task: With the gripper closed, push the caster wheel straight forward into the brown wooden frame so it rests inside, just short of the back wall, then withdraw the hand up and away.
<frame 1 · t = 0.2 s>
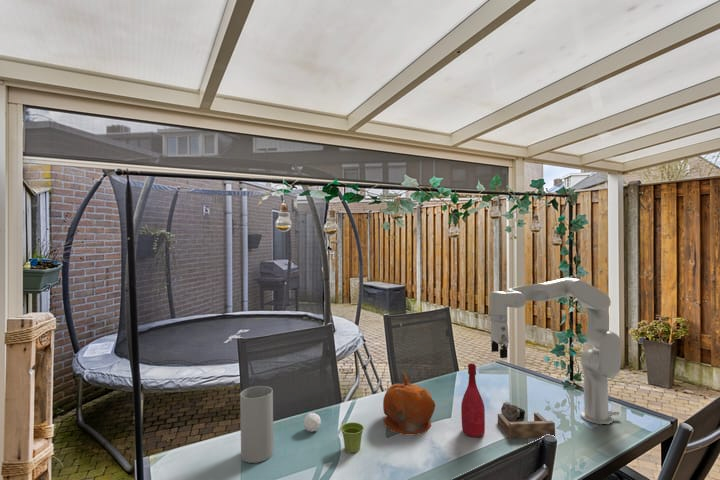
hand: (499, 354, 172), 31 cm above the table, tool pointing down, fingers open, 9 cm apart
brown wooden frame: (525, 429, 163), on the table
cylinder vase: (257, 455, 147), on the table
pumpkin: (408, 422, 172), on the table
caster wheel: (512, 416, 176), on the table
plant pot: (352, 449, 150), on the table
wine bottle: (473, 432, 161), on the table
geometric ball: (312, 431, 165), on the table
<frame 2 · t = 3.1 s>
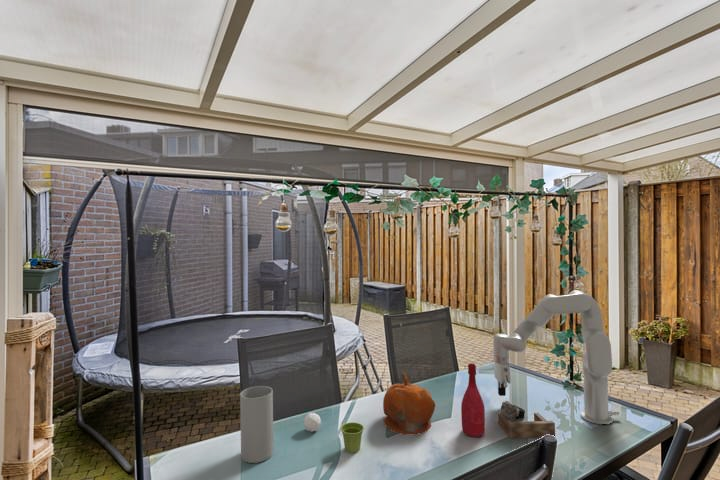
hand: (501, 395, 187), 6 cm above the table, tool pointing down, fingers closed
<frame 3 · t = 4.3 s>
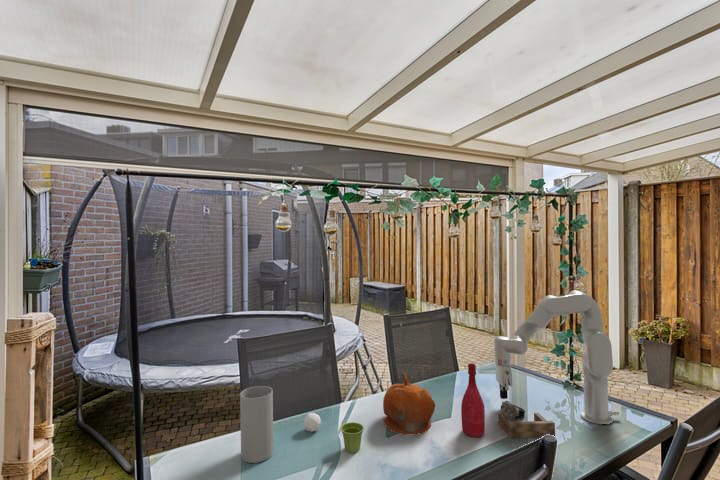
hand: (503, 398, 186), 5 cm above the table, tool pointing down, fingers closed
nothing on the table moved.
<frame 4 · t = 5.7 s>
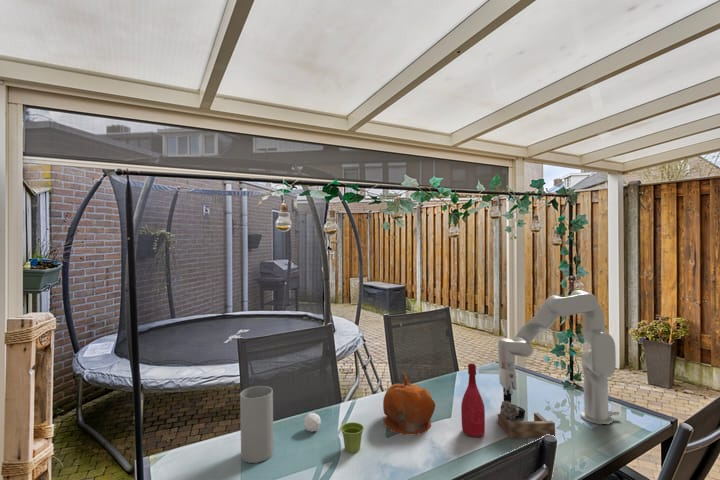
hand: (507, 401, 181), 5 cm above the table, tool pointing down, fingers closed
caster wheel: (512, 415, 177), on the table, touching gripper
everything else where it was.
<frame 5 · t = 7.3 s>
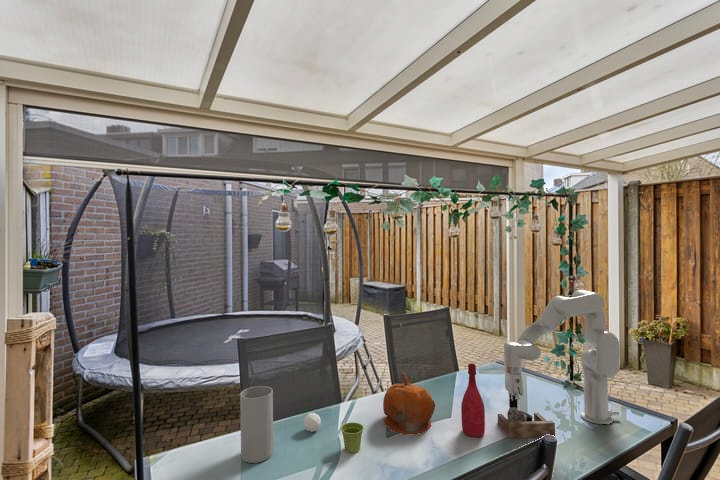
hand: (513, 407, 174), 5 cm above the table, tool pointing down, fingers closed
caster wheel: (519, 422, 170), on the table, touching gripper
everything else where it was.
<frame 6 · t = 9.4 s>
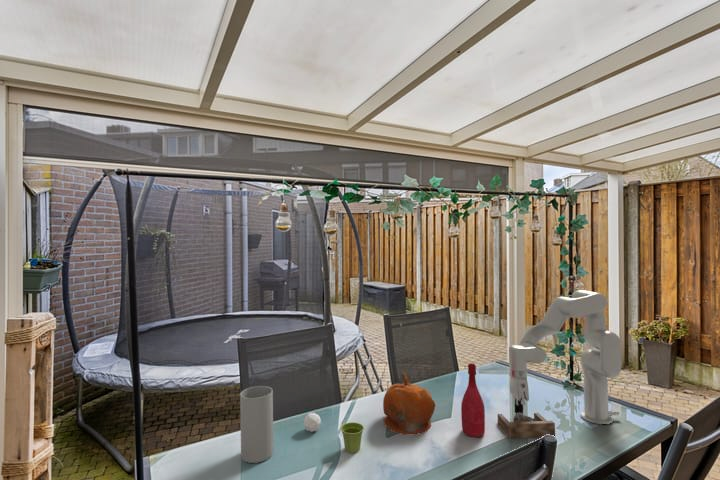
hand: (518, 413, 168), 5 cm above the table, tool pointing down, fingers closed
caster wheel: (525, 428, 165), on the table, touching gripper
everything else where it was.
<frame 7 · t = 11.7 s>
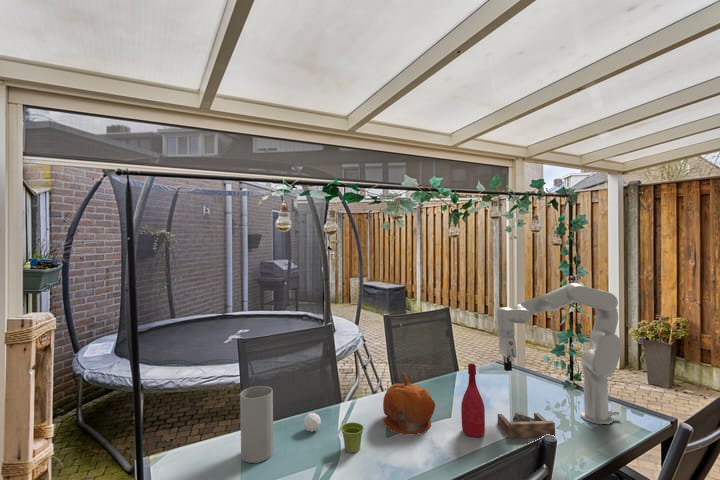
hand: (508, 370, 181), 20 cm above the table, tool pointing down, fingers closed
caster wheel: (525, 427, 165), on the table
everything else where it was.
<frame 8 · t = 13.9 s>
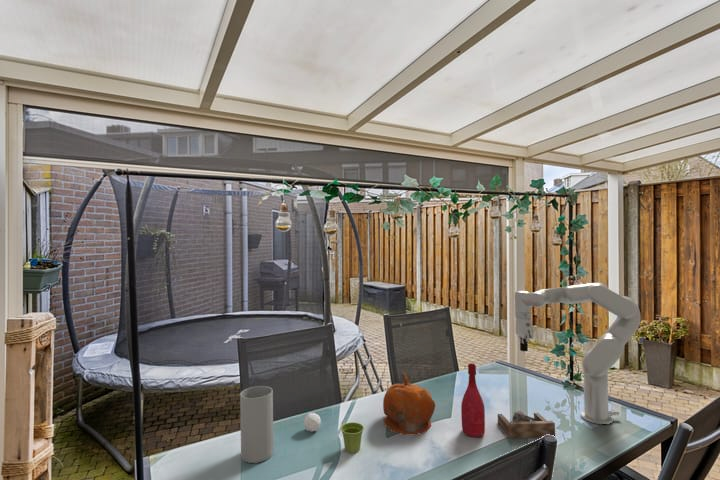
hand: (523, 350, 190), 27 cm above the table, tool pointing down, fingers closed
nothing on the table moved.
at the end: caster wheel inside the target area on the brown wooden frame (3.0 cm from its centre), point 0.0 cm above the brown wooden frame's base; caster wheel moved 10.3 cm from its start; caster wheel tilted 0° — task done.
